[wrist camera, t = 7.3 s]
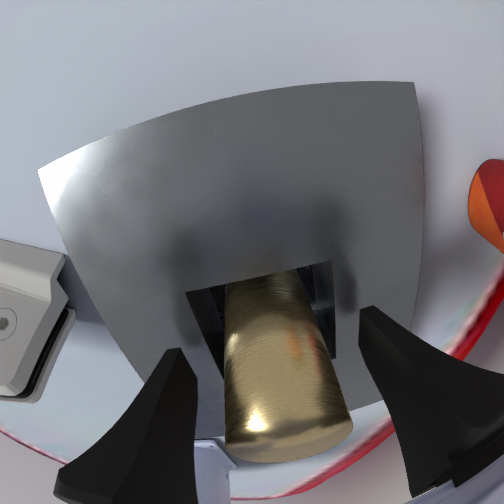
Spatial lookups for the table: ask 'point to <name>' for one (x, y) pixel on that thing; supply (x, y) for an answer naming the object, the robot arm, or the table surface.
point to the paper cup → (488, 202)
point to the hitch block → (249, 221)
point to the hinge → (30, 320)
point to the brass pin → (278, 374)
